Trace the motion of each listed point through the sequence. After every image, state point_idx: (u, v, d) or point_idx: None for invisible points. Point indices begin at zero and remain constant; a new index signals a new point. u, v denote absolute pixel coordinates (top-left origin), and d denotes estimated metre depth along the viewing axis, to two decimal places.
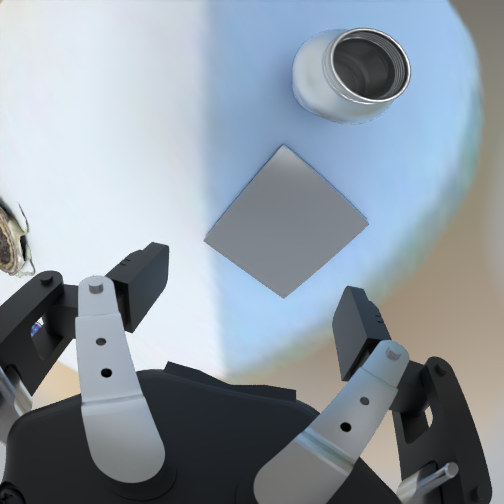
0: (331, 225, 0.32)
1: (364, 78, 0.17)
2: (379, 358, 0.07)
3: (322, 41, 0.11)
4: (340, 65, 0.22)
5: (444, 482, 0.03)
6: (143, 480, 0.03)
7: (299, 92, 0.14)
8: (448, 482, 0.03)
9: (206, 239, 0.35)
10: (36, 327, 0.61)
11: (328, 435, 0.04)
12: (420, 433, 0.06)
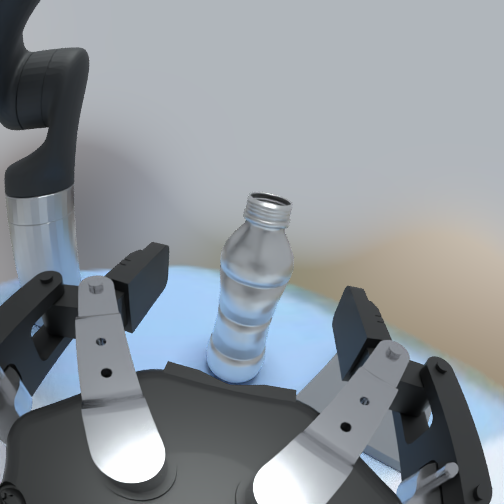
0: None
1: None
2: (379, 358, 0.07)
3: (241, 242, 0.21)
4: None
5: (444, 482, 0.03)
6: (143, 480, 0.03)
7: (275, 274, 0.21)
8: (448, 482, 0.03)
9: None
10: None
11: (328, 435, 0.04)
12: (420, 433, 0.06)
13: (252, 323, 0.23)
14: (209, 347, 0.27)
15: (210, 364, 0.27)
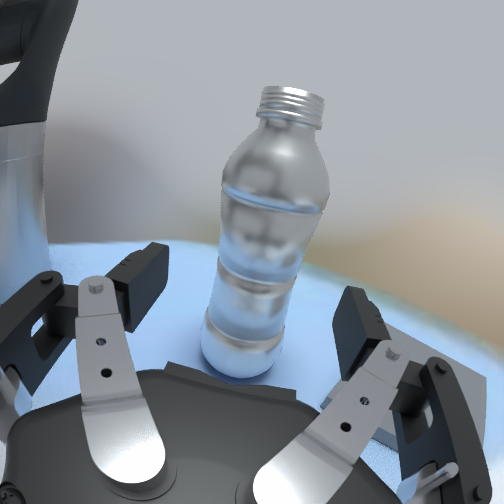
0: None
1: None
2: (379, 358, 0.07)
3: (253, 144, 0.13)
4: None
5: (444, 482, 0.03)
6: (143, 480, 0.03)
7: (308, 188, 0.13)
8: (448, 482, 0.03)
9: None
10: None
11: (328, 435, 0.04)
12: (420, 433, 0.06)
13: (270, 278, 0.15)
14: (204, 325, 0.19)
15: (205, 351, 0.19)
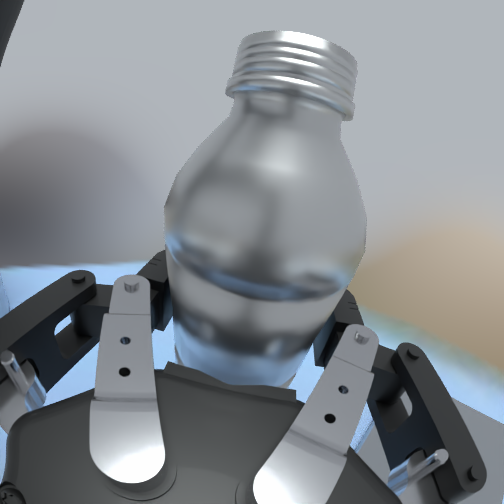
0: None
1: None
2: (349, 343, 0.07)
3: (214, 150, 0.06)
4: None
5: (436, 468, 0.04)
6: (143, 480, 0.03)
7: (332, 250, 0.06)
8: (440, 467, 0.04)
9: None
10: None
11: (314, 429, 0.04)
12: (400, 420, 0.07)
13: None
14: None
15: None
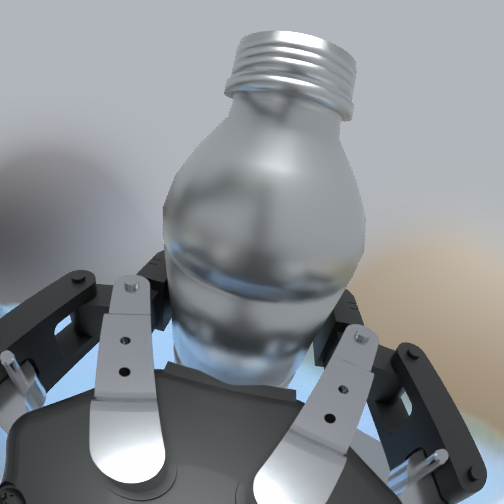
0: None
1: None
2: (348, 343, 0.07)
3: (213, 151, 0.06)
4: None
5: (436, 468, 0.04)
6: (143, 480, 0.03)
7: (331, 251, 0.06)
8: (440, 467, 0.04)
9: None
10: None
11: (314, 429, 0.04)
12: (400, 419, 0.07)
13: None
14: None
15: None
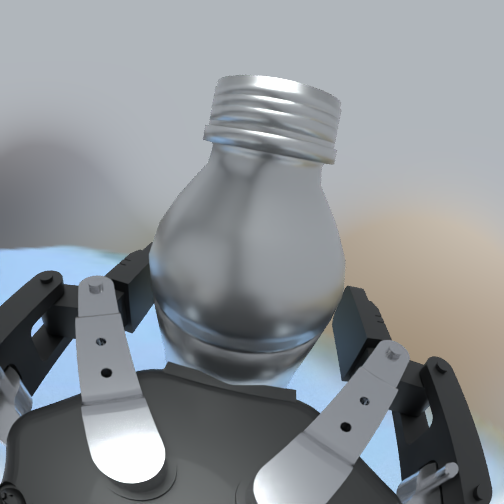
0: None
1: None
2: (379, 358, 0.07)
3: (190, 209, 0.07)
4: None
5: (444, 482, 0.03)
6: (143, 480, 0.03)
7: (303, 309, 0.06)
8: (448, 482, 0.03)
9: None
10: None
11: (328, 435, 0.04)
12: (420, 433, 0.06)
13: None
14: None
15: None
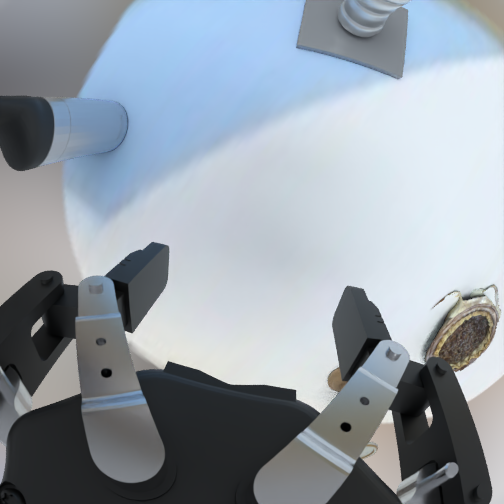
0: None
1: None
2: (379, 358, 0.07)
3: None
4: None
5: (444, 482, 0.03)
6: (143, 480, 0.03)
7: None
8: (448, 482, 0.03)
9: (399, 74, 0.29)
10: None
11: (328, 435, 0.04)
12: (420, 433, 0.06)
13: (391, 12, 0.18)
14: (350, 23, 0.24)
15: (354, 32, 0.25)
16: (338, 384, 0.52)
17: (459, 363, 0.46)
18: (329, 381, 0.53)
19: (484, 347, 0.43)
